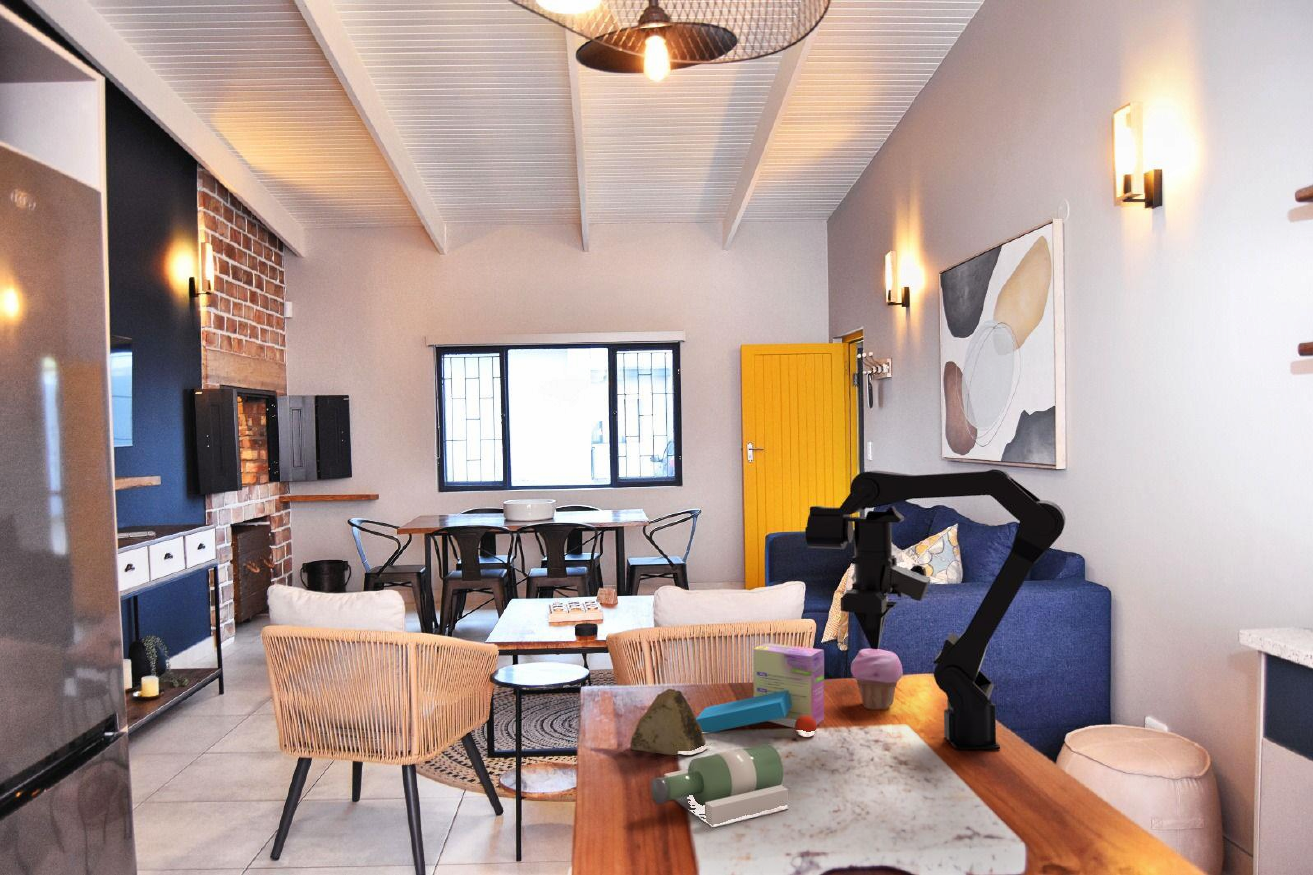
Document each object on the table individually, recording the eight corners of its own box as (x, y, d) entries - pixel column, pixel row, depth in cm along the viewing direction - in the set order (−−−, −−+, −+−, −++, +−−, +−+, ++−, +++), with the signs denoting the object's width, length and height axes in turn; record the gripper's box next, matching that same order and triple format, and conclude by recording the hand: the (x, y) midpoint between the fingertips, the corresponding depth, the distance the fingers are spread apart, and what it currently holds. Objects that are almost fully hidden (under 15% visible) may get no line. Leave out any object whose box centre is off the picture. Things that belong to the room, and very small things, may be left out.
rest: (735, 777, 121) (735, 759, 121) (788, 809, 110) (787, 789, 110) (664, 793, 116) (664, 773, 116) (712, 828, 105) (712, 807, 105)
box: (825, 720, 145) (824, 648, 146) (812, 730, 141) (810, 655, 141) (768, 710, 151) (766, 641, 151) (753, 719, 146) (752, 648, 146)
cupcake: (849, 698, 157) (848, 642, 157) (899, 699, 156) (898, 643, 156) (853, 713, 148) (852, 654, 149) (906, 715, 147) (905, 655, 147)
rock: (610, 738, 131) (657, 743, 124) (630, 684, 136) (677, 687, 129) (656, 767, 137) (703, 774, 130) (673, 714, 141) (720, 718, 134)
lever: (707, 763, 140) (816, 742, 134) (694, 720, 140) (802, 697, 135) (718, 748, 146) (822, 728, 141) (706, 707, 147) (810, 685, 141)
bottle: (766, 733, 117) (652, 756, 109) (788, 768, 113) (671, 794, 105) (754, 764, 120) (642, 788, 112) (775, 799, 115) (660, 826, 108)
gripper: (914, 559, 128) (916, 667, 127) (935, 545, 144) (937, 640, 144) (838, 556, 133) (840, 660, 132) (867, 543, 149) (868, 635, 149)
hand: (875, 648), depth 139 cm, fingers closed
